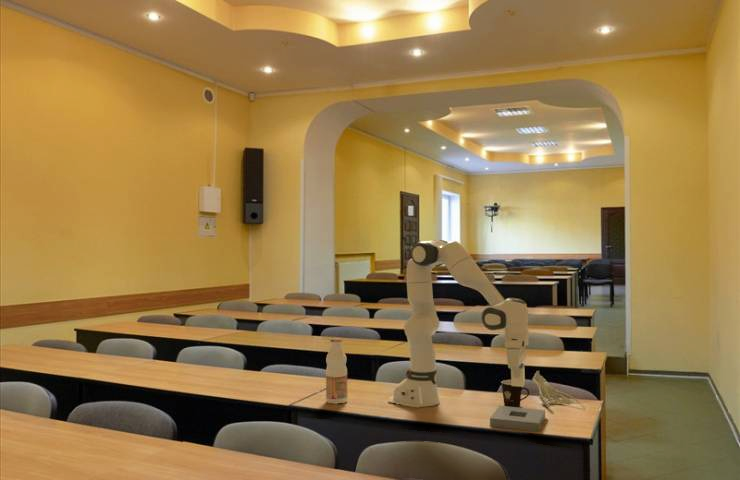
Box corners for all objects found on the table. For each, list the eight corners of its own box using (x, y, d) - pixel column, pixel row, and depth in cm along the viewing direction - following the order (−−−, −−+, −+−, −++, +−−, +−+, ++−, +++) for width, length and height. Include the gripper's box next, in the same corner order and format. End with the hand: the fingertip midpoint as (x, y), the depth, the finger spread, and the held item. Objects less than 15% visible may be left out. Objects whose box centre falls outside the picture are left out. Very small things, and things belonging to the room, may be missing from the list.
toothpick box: (511, 385, 221) (510, 365, 221) (513, 383, 225) (512, 362, 225) (523, 386, 220) (522, 365, 220) (524, 384, 224) (524, 363, 224)
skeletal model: (554, 414, 231) (525, 363, 249) (544, 426, 237) (517, 376, 255) (586, 409, 237) (556, 359, 254) (576, 421, 243) (548, 372, 260)
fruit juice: (322, 403, 252) (321, 339, 252) (332, 398, 261) (331, 336, 261) (341, 405, 248) (340, 341, 248) (351, 400, 257) (350, 337, 257)
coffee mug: (497, 404, 247) (497, 381, 247) (514, 402, 250) (514, 379, 250) (513, 411, 236) (513, 387, 236) (531, 409, 239) (530, 385, 239)
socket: (490, 426, 218) (490, 418, 218) (499, 412, 234) (499, 405, 234) (539, 431, 211) (538, 423, 211) (545, 417, 227) (545, 410, 227)
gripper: (513, 335, 233) (514, 369, 233) (503, 343, 215) (504, 380, 215) (529, 336, 231) (530, 370, 231) (520, 344, 212) (521, 382, 212)
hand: (517, 375), depth 222 cm, fingers closed on toothpick box, 4 cm apart
